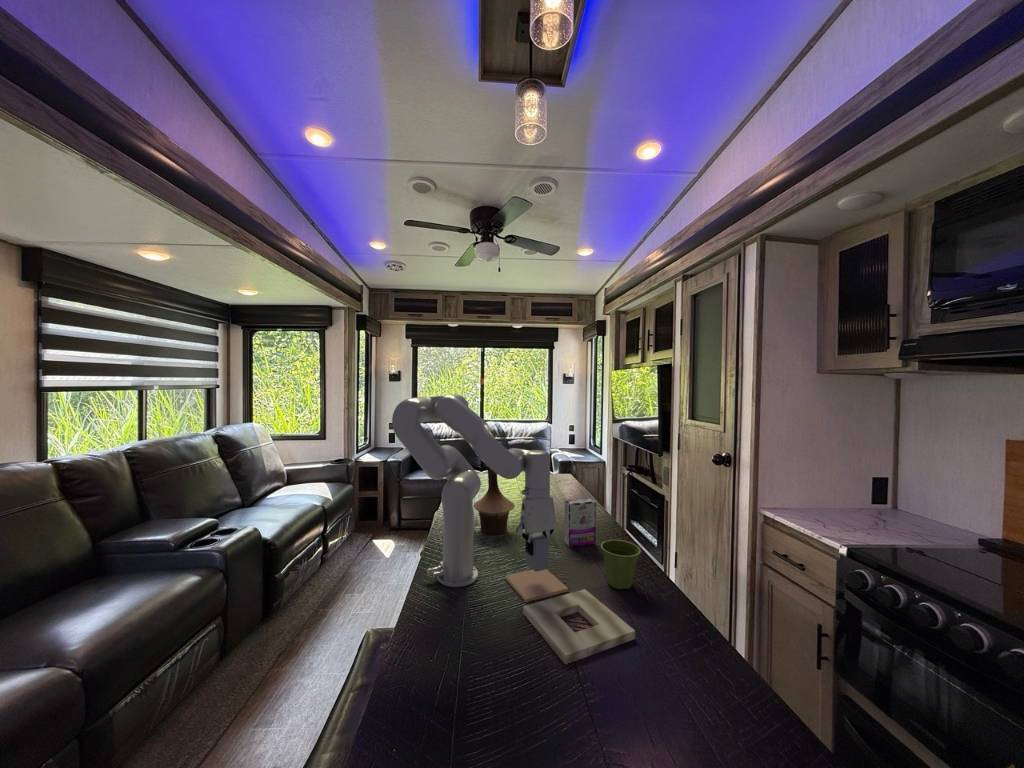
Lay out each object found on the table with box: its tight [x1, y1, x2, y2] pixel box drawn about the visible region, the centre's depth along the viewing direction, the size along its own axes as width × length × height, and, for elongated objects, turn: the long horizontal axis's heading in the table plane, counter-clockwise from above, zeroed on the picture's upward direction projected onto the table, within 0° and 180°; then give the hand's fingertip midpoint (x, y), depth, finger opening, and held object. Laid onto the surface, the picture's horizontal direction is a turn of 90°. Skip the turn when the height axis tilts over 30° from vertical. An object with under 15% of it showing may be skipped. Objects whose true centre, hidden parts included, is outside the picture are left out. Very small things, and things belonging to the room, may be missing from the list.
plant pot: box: [600, 539, 642, 590], centre depth 117 cm, size 12×12×11 cm
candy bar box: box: [564, 497, 597, 548], centre depth 146 cm, size 11×5×16 cm, turn 105°
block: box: [525, 532, 550, 572], centre depth 115 cm, size 4×6×9 cm
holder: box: [522, 588, 636, 665], centre depth 97 cm, size 20×20×2 cm
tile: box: [504, 568, 569, 603], centre depth 115 cm, size 14×14×1 cm
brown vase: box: [473, 465, 516, 536], centre depth 157 cm, size 18×17×28 cm
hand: (537, 551), depth 115 cm, fingers closed on block, 4 cm apart
